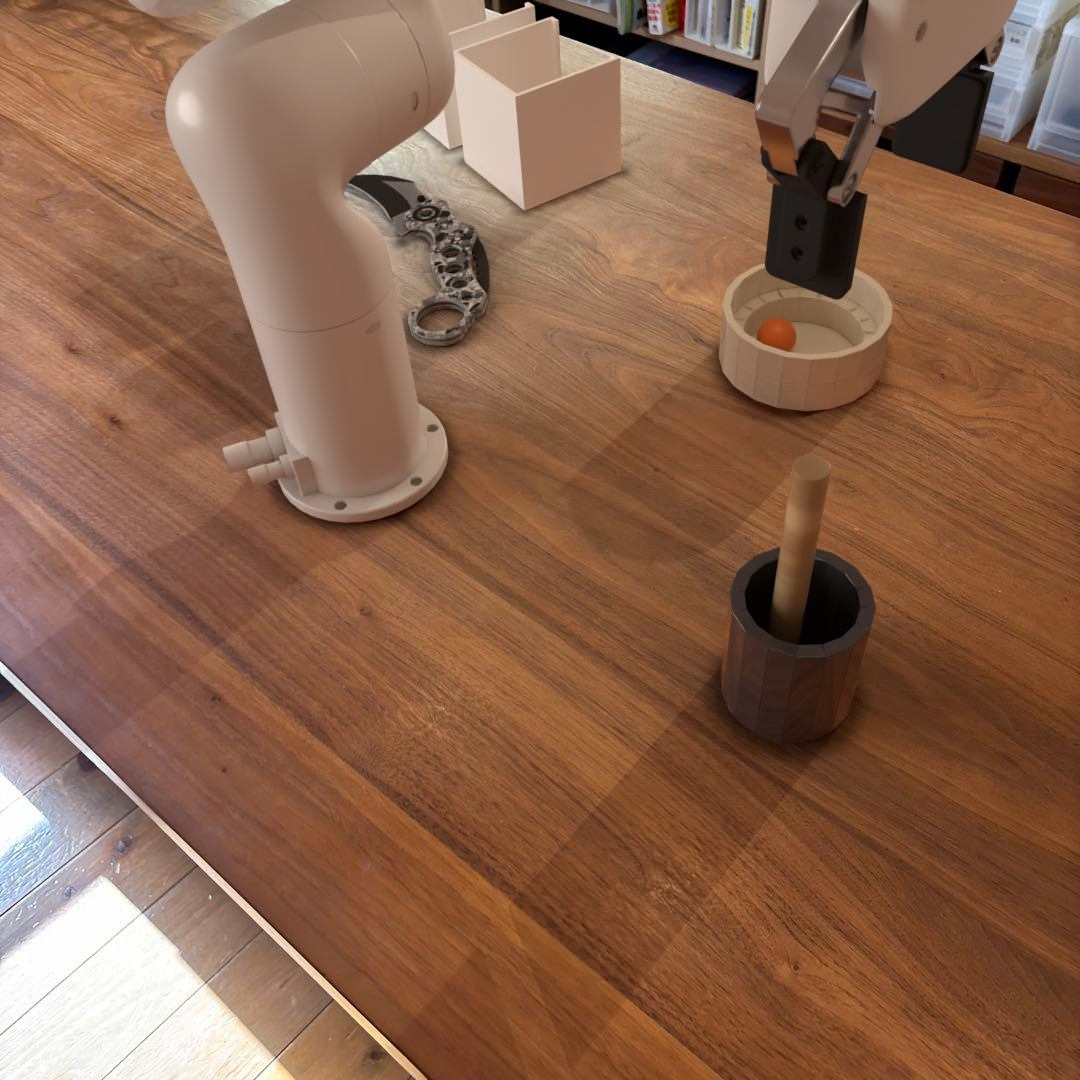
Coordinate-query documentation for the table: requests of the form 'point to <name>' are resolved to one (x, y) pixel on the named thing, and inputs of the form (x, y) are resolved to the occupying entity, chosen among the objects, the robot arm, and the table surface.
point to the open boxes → (527, 106)
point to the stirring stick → (798, 545)
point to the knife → (435, 252)
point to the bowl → (804, 341)
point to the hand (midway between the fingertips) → (871, 219)
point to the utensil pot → (795, 650)
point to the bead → (777, 334)
